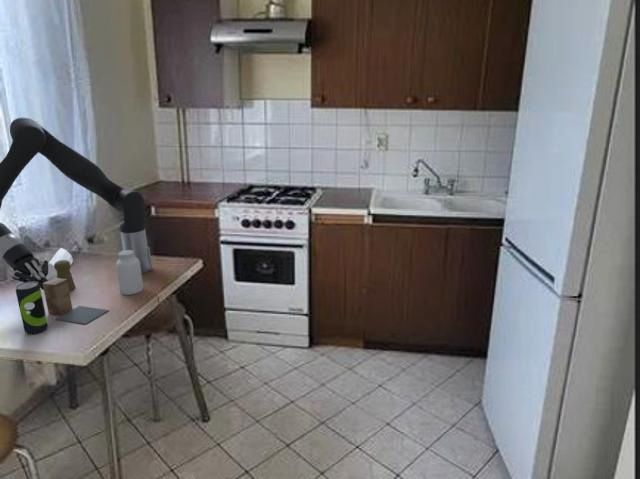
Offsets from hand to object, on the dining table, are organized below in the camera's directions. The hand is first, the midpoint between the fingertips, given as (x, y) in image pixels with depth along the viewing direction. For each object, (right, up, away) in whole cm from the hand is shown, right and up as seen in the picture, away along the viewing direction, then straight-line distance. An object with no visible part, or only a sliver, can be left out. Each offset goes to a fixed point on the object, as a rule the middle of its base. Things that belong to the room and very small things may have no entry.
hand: (48, 288), depth 156 cm
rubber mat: (+12, -9, -1) cm, 15 cm away
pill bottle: (+21, -3, +17) cm, 27 cm away
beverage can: (+3, -12, -11) cm, 16 cm away
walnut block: (+3, -8, +1) cm, 9 cm away
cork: (-5, -2, +20) cm, 21 cm away
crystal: (-18, +3, +39) cm, 43 cm away
